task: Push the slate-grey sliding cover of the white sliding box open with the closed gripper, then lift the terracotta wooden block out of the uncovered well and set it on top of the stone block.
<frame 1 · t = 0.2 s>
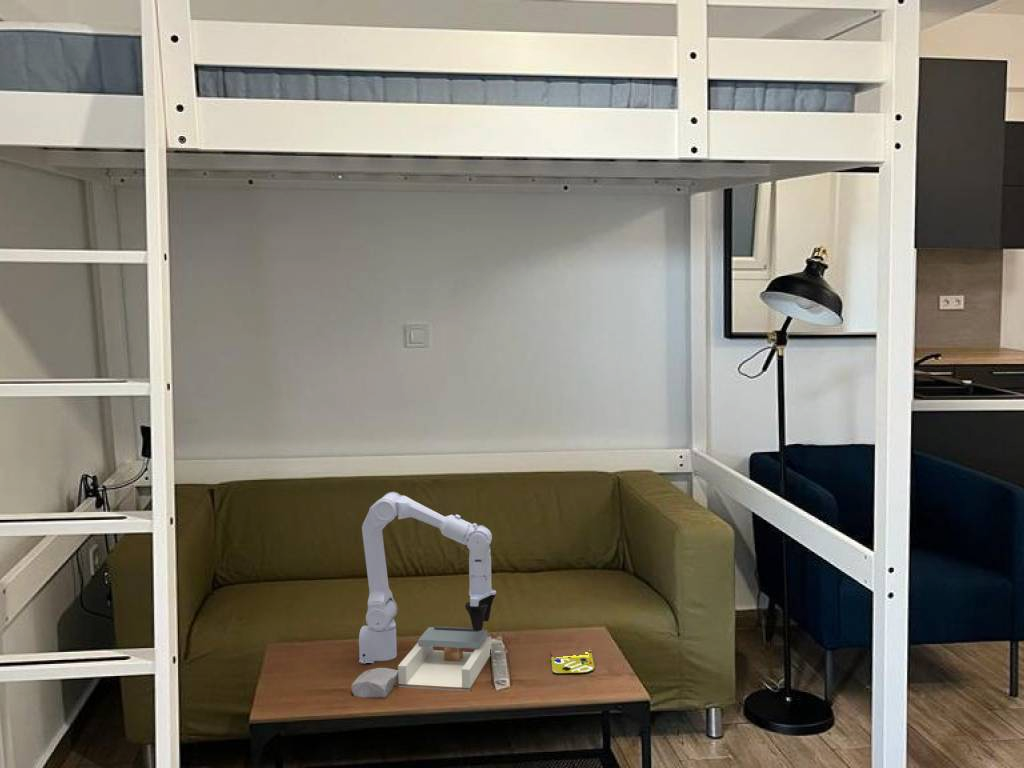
hand: (481, 625, 262), 10 cm above the table, tool pointing down, fingers open, 7 cm apart
white sliding box: (446, 671, 257), on the table
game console: (572, 664, 262), on the table
block: (453, 658, 263), point 1 cm above the table, touching white sliding box
slide cover: (453, 636, 263), point 7 cm above the table, slide at 0.0 cm
stone block: (374, 690, 247), on the table
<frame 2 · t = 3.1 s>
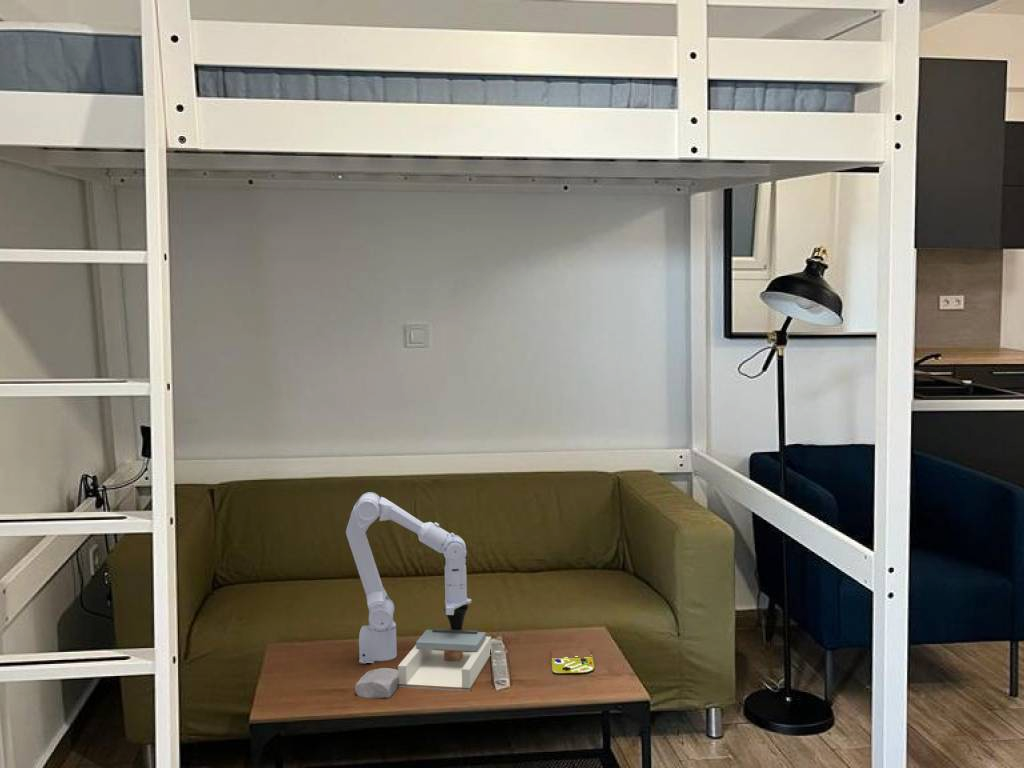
hand: (456, 633, 267), 6 cm above the table, tool pointing down, fingers closed
slide cover: (451, 639, 261), point 7 cm above the table, slide at 2.0 cm, touching gripper
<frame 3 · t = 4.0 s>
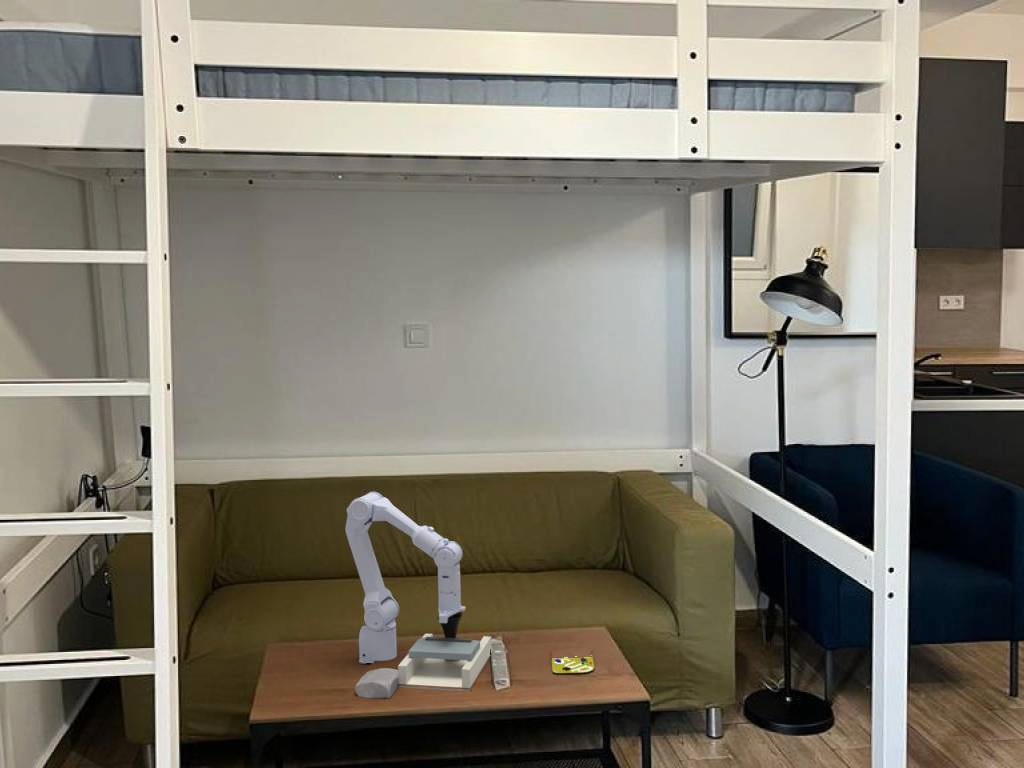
hand: (450, 641, 260), 6 cm above the table, tool pointing down, fingers closed
slide cover: (444, 647, 255), point 7 cm above the table, slide at 8.5 cm, touching gripper
everything else where it was.
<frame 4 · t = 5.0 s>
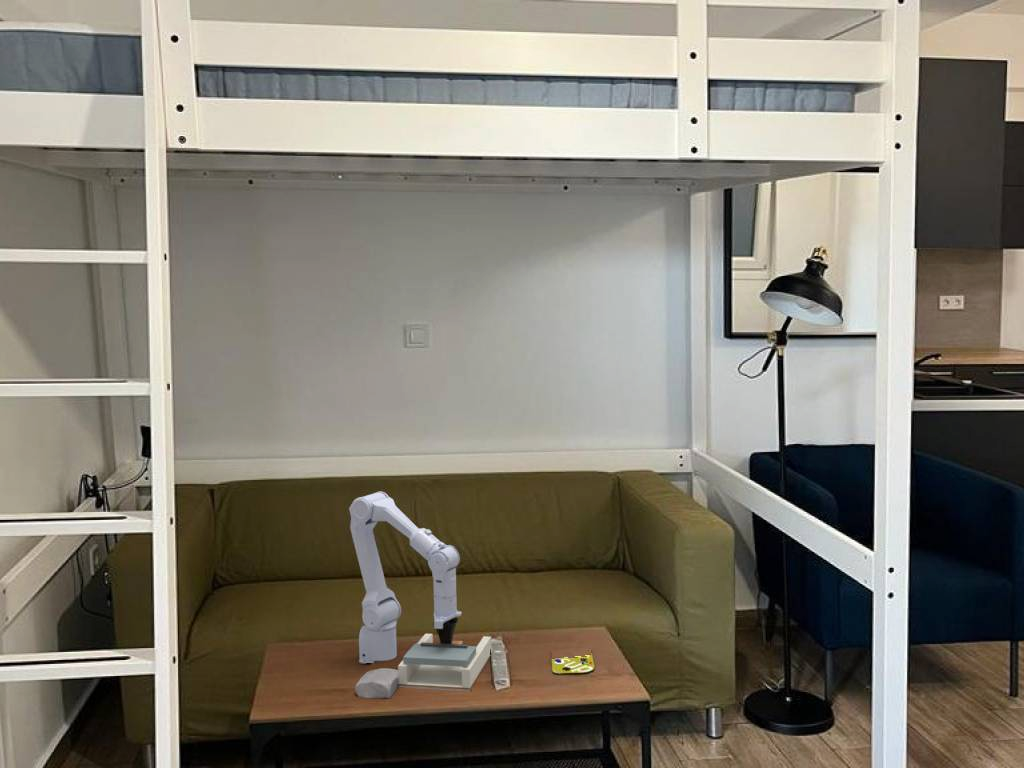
hand: (446, 647, 256), 6 cm above the table, tool pointing down, fingers closed
slide cover: (440, 653, 250), point 7 cm above the table, slide at 12.9 cm, touching gripper
everything else where it was.
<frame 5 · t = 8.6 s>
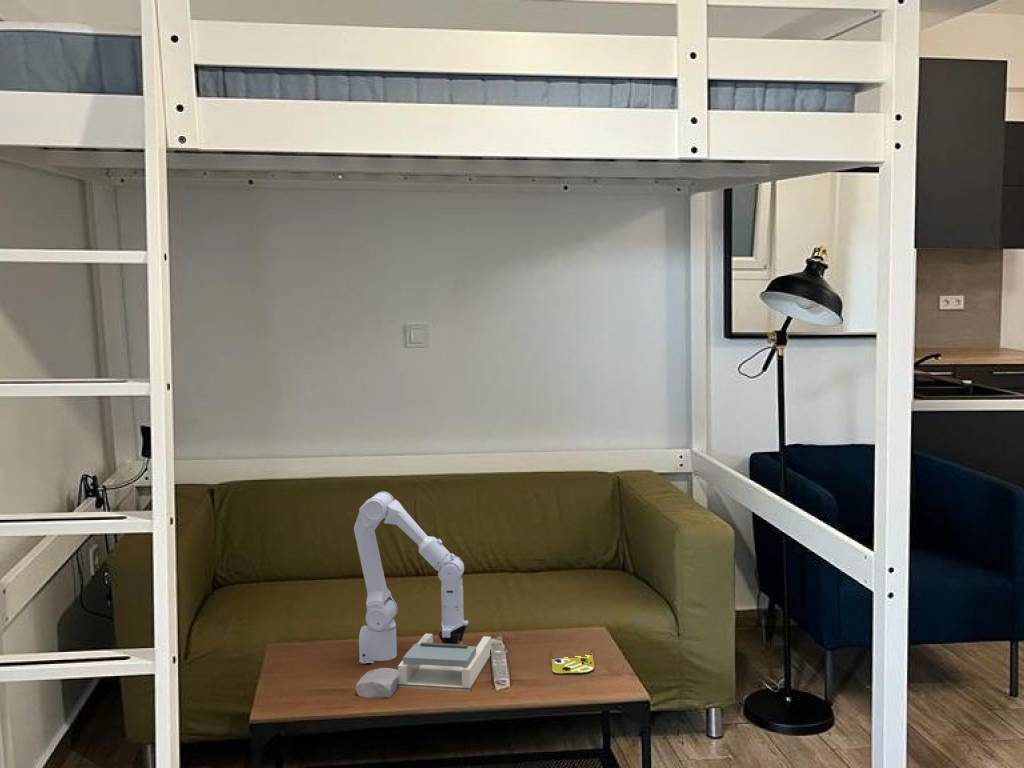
hand: (453, 655, 263), 2 cm above the table, tool pointing down, fingers closed on block, 4 cm apart
block: (453, 658, 263), point 1 cm above the table, touching gripper, white sliding box
slide cover: (440, 653, 250), point 7 cm above the table, slide at 12.9 cm
everything else where it was.
when the fingers open (6 cm above the table, at t = 12.6 s): block drops 2 cm, resting on stone block.
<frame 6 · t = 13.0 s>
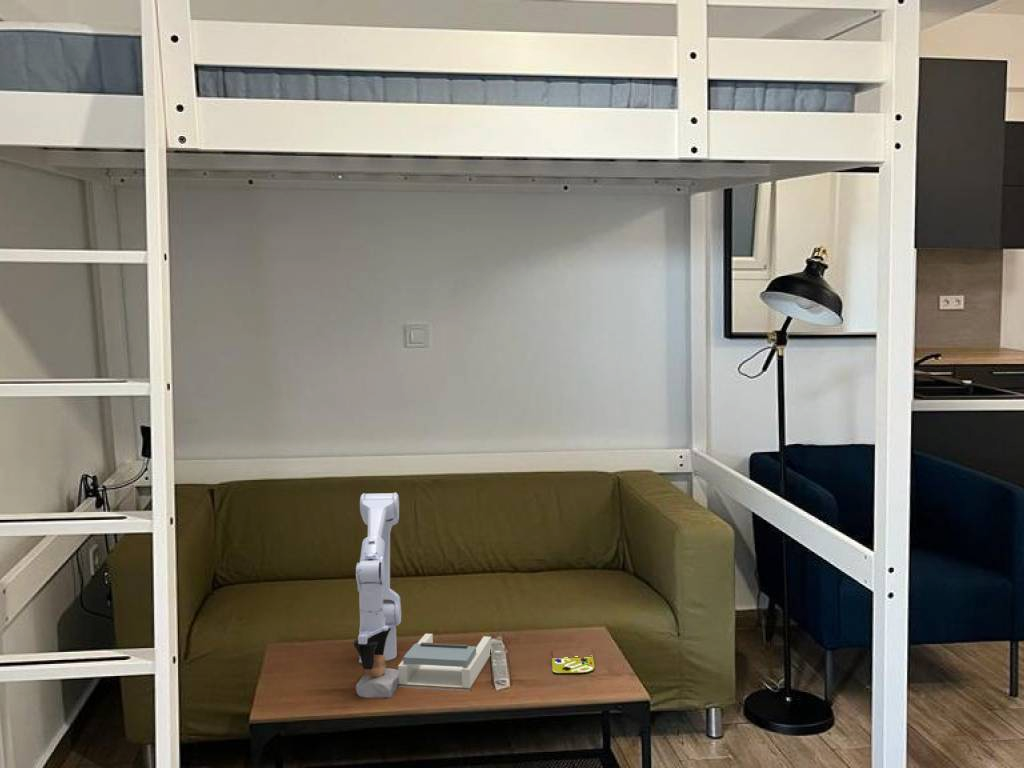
hand: (373, 663, 246), 6 cm above the table, tool pointing down, fingers open, 7 cm apart
block: (375, 673, 247), point 4 cm above the table, touching stone block
stone block: (378, 690, 247), on the table, touching block
everything else where it was.
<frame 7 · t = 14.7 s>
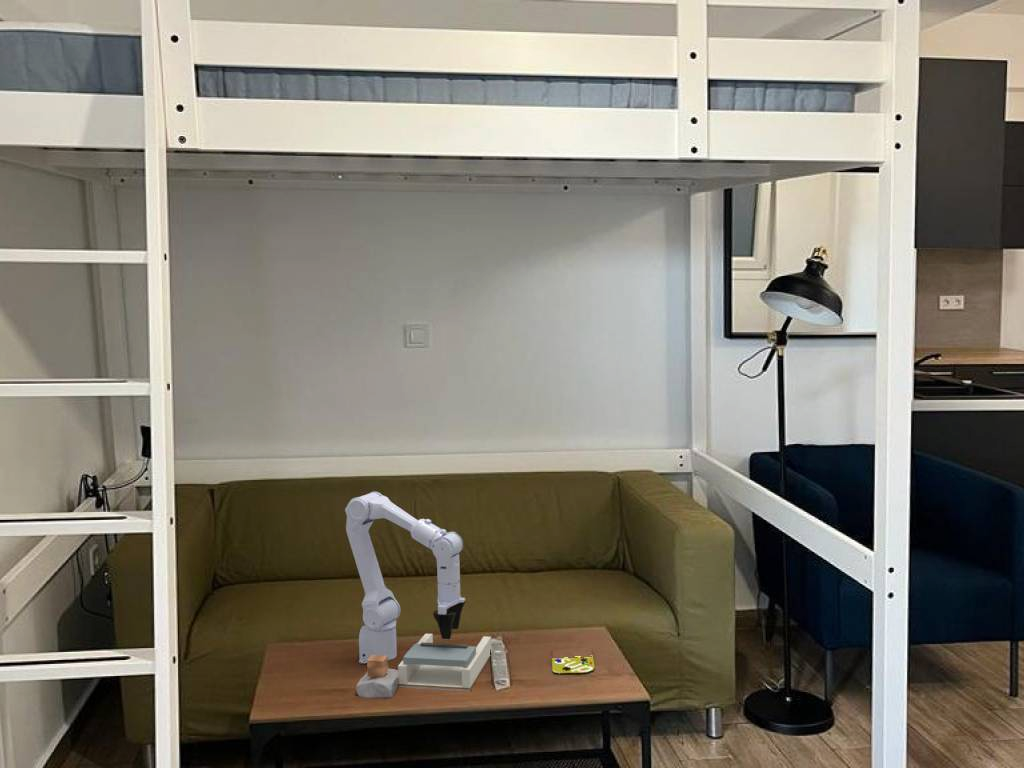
hand: (450, 633, 257), 9 cm above the table, tool pointing down, fingers open, 7 cm apart
block: (377, 673, 246), point 4 cm above the table
stone block: (378, 690, 247), on the table
everything else where it was.
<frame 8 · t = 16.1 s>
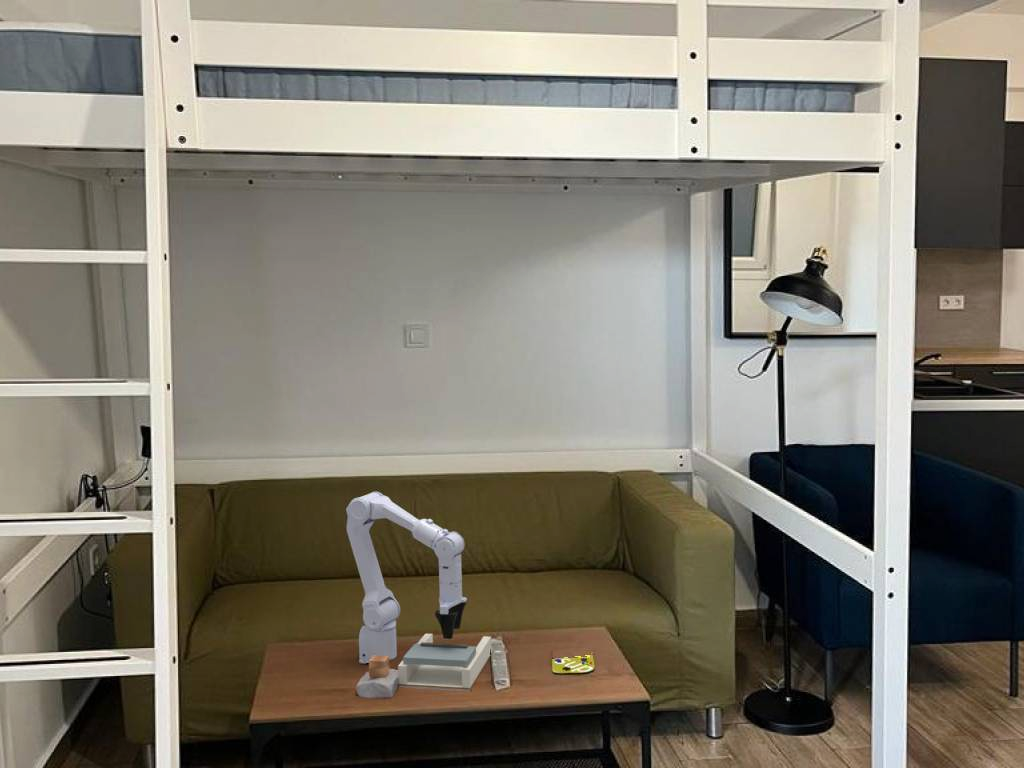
hand: (451, 633, 258), 9 cm above the table, tool pointing down, fingers open, 7 cm apart
block: (379, 674, 246), point 4 cm above the table, touching stone block
stone block: (378, 690, 247), on the table, touching block
everything else where it was.
at the end: slide cover slide at 12.9 cm; block inside the target area on the stone block (0.2 cm from its centre), point 4.1 cm above the stone block's base; the gripper is holding nothing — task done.
